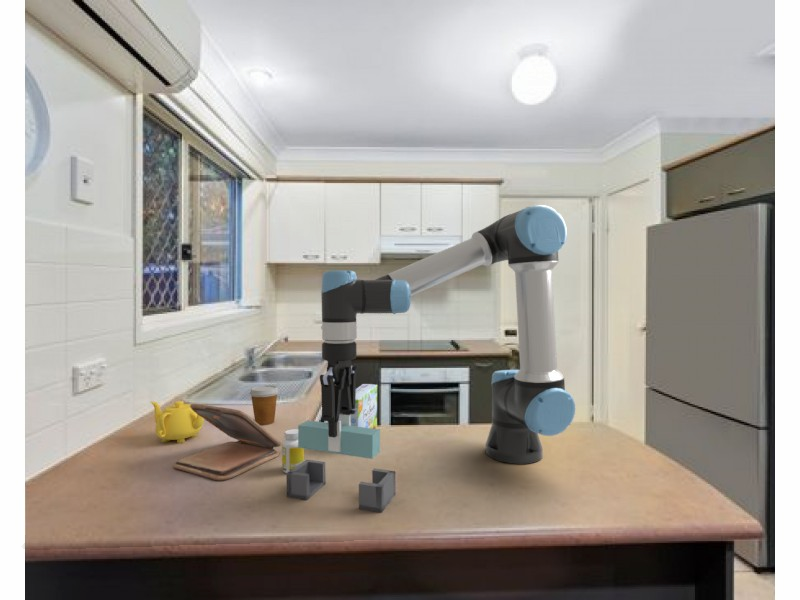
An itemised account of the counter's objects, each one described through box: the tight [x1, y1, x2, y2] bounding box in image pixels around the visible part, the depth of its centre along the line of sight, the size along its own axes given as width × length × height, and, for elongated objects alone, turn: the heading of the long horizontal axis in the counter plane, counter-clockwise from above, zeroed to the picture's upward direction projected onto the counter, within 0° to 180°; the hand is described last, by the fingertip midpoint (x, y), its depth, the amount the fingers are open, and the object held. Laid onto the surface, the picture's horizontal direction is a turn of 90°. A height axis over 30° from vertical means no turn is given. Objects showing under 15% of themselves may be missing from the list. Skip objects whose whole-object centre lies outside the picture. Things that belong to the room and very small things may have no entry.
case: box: [172, 403, 282, 481], centre depth 118 cm, size 20×21×16 cm
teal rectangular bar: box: [297, 419, 381, 460], centre depth 97 cm, size 18×4×5 cm, turn 70°
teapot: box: [150, 400, 205, 445], centre depth 135 cm, size 20×15×12 cm
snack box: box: [350, 383, 378, 429], centre depth 133 cm, size 21×6×15 cm, turn 168°
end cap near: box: [358, 468, 396, 513], centre depth 94 cm, size 5×8×5 cm, turn 161°
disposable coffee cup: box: [249, 384, 279, 426], centre depth 152 cm, size 10×10×12 cm
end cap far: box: [285, 459, 327, 501], centre depth 100 cm, size 5×8×5 cm, turn 161°
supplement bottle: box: [281, 428, 305, 474], centre depth 111 cm, size 5×5×10 cm
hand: (339, 446), depth 97 cm, fingers closed on teal rectangular bar, 4 cm apart
